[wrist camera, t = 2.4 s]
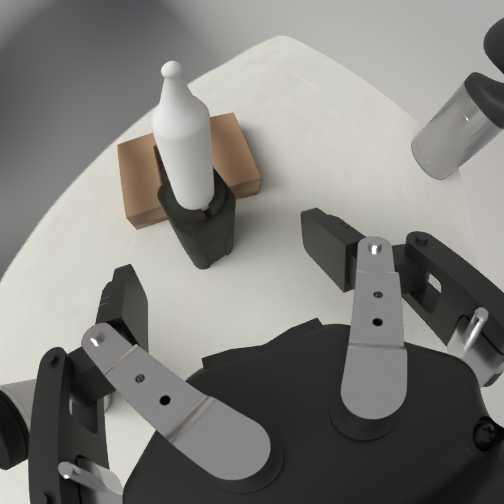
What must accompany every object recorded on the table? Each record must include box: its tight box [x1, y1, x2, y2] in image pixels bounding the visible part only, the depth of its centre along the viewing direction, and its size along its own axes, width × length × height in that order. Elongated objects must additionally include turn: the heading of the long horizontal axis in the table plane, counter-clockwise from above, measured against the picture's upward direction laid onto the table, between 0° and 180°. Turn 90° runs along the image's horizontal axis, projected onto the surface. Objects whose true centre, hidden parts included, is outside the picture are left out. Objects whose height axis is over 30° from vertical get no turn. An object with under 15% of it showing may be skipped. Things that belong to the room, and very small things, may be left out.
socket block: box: [117, 113, 261, 230], centre depth 33 cm, size 16×11×4 cm
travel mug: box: [0, 379, 111, 470], centre depth 17 cm, size 6×7×20 cm
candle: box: [151, 61, 236, 269], centre depth 21 cm, size 5×5×25 cm
